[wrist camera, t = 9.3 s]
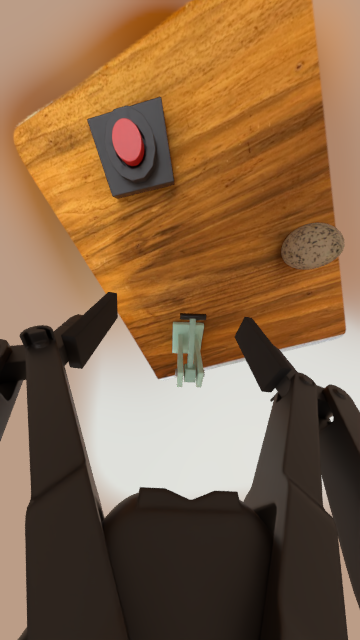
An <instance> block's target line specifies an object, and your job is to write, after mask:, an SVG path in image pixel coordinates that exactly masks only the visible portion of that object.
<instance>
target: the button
mask: <svg viewBox="0 0 360 640" xmlns="http://www.w3.org/2000/svg"><path fill="white" fill-rule="evenodd" d="M112 141H113V145H114V148H115V151H116V152H117V154H118V155H119V156H120V158H121V159H122V160H123V161H124V162H125V163H126V164H127V165H129V166H137V165H138V164H140V162H141V161H142V159H143V156H144V143H143V140H142V137H141V135H140V132H139V130H138V128H137V126H136V125H135V124H134V123H133V122H132V121H131V120H129V119H126V118H122V119H119V120H118V121H117V122H116V123H115V125H114V127H113V131H112Z"/></svg>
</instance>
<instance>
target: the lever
mask: <svg viewBox="0 0 360 640" xmlns="http://www.w3.org/2000/svg"><path fill="white" fill-rule="evenodd" d="M180 319H185V320H190V324H189V342H188V360H187V364H184V382H195V376H196V369H195V364H193V357H194V342H195V326H196V320H206V314H189V313H180Z"/></svg>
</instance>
